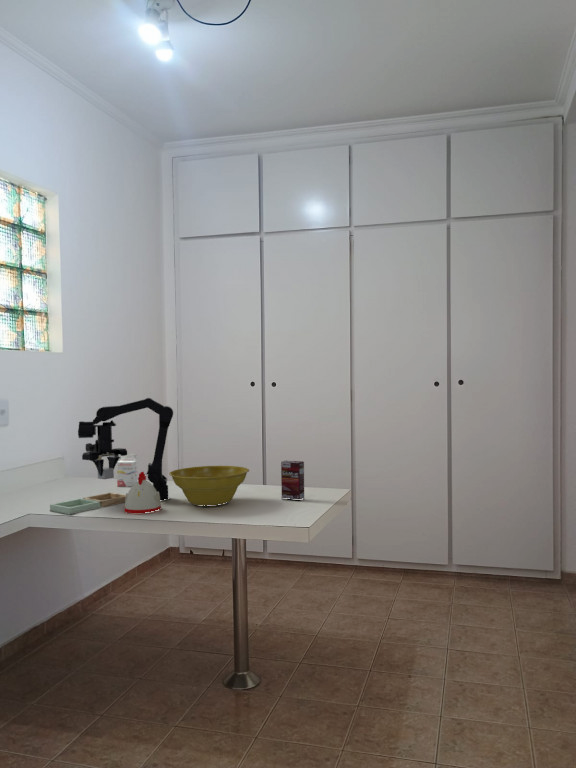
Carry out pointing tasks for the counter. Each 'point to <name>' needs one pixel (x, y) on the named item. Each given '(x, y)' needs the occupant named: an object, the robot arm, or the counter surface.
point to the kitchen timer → (142, 497)
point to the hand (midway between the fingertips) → (105, 474)
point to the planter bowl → (209, 483)
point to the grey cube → (106, 473)
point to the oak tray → (107, 499)
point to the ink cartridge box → (127, 470)
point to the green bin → (74, 506)
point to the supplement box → (292, 479)
